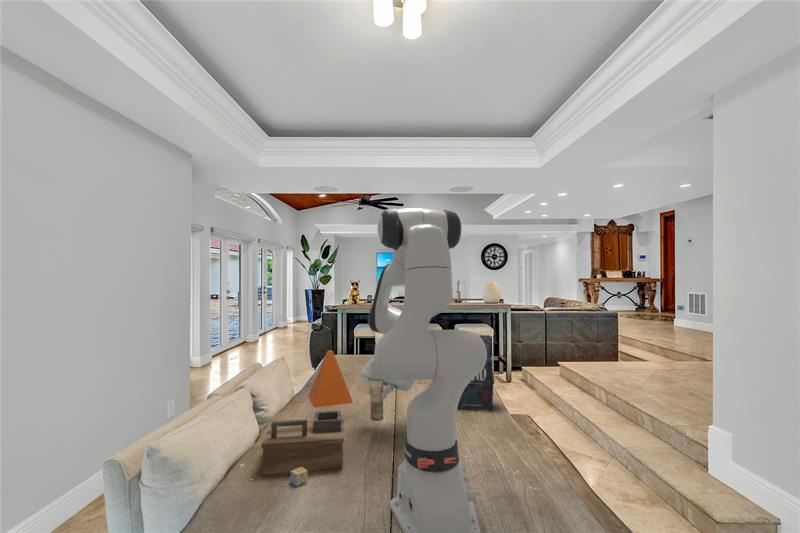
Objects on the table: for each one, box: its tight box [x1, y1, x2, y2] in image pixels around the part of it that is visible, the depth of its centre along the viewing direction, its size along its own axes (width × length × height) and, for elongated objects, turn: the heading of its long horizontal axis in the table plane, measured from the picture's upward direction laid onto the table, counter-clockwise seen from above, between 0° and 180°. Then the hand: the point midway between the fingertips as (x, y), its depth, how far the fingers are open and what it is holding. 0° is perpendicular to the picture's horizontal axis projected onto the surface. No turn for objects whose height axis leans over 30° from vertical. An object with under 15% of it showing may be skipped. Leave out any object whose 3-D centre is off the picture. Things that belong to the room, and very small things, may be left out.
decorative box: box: [457, 334, 494, 412], centre depth 147 cm, size 8×16×28 cm, turn 81°
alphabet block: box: [289, 467, 308, 488], centre depth 93 cm, size 3×3×3 cm
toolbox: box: [260, 410, 345, 476], centre depth 105 cm, size 14×21×12 cm, turn 99°
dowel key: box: [370, 379, 384, 422], centre depth 119 cm, size 4×4×12 cm
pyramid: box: [307, 350, 354, 409], centre depth 156 cm, size 16×16×20 cm
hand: (375, 395), depth 119 cm, fingers closed on dowel key, 4 cm apart
